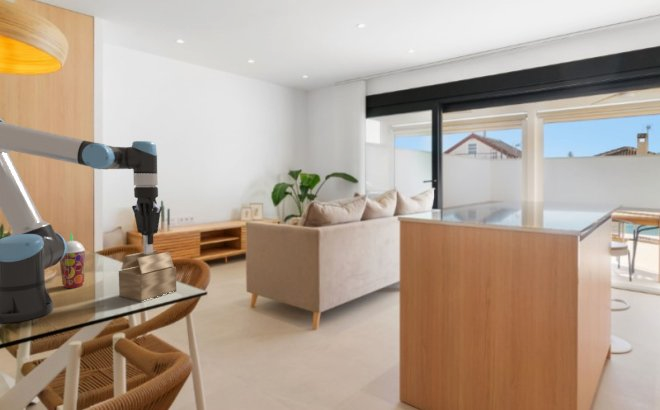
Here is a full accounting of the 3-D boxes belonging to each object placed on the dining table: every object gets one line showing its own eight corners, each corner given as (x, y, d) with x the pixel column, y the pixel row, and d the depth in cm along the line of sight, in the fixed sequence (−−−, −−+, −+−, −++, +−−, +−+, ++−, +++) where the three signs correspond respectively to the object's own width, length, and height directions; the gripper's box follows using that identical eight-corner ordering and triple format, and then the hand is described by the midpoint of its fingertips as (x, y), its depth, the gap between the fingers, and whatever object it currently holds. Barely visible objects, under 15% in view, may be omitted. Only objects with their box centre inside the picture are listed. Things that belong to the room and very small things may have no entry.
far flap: (121, 269, 136) (125, 256, 134) (121, 269, 136) (124, 255, 134) (153, 262, 147) (157, 250, 145) (152, 262, 147) (156, 249, 145)
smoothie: (63, 284, 150) (61, 232, 148) (88, 282, 153) (86, 231, 151) (57, 290, 142) (54, 235, 141) (83, 288, 145) (81, 234, 144)
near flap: (142, 273, 130) (137, 257, 131) (141, 273, 131) (136, 258, 131) (173, 265, 142) (169, 251, 142) (173, 266, 142) (168, 251, 142)
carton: (142, 302, 130) (141, 275, 130) (119, 296, 136) (118, 271, 135) (176, 291, 143) (175, 267, 142) (154, 286, 148) (153, 263, 148)
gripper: (167, 186, 137) (169, 253, 139) (143, 185, 143) (145, 249, 145) (148, 187, 130) (151, 257, 132) (124, 186, 136) (126, 253, 138)
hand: (148, 253), depth 138 cm, fingers closed
